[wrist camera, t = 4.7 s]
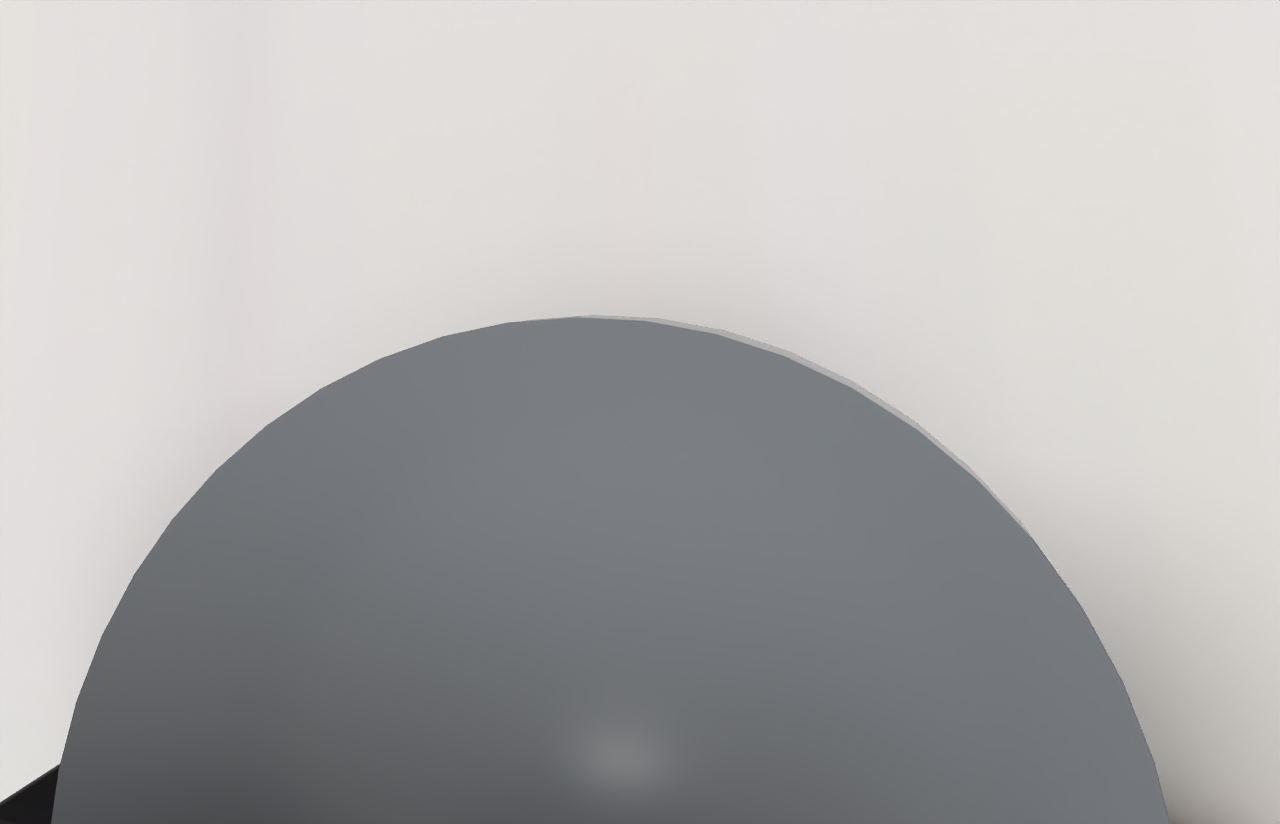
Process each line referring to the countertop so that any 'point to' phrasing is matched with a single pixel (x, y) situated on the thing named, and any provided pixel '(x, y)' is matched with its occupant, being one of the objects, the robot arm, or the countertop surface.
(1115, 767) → the grey bottle
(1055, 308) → the countertop surface
